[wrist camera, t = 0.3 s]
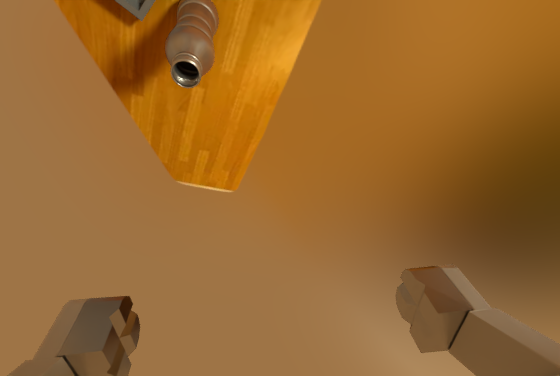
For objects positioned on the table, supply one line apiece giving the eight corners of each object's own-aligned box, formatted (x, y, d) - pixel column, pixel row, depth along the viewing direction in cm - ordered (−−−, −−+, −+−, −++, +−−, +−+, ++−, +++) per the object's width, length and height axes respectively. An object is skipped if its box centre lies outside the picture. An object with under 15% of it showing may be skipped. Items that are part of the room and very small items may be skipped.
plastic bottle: (183, 32, 52) (165, 99, 39) (174, -13, 46) (150, 46, 34) (221, 33, 52) (216, 98, 39) (216, -12, 47) (209, 46, 34)
